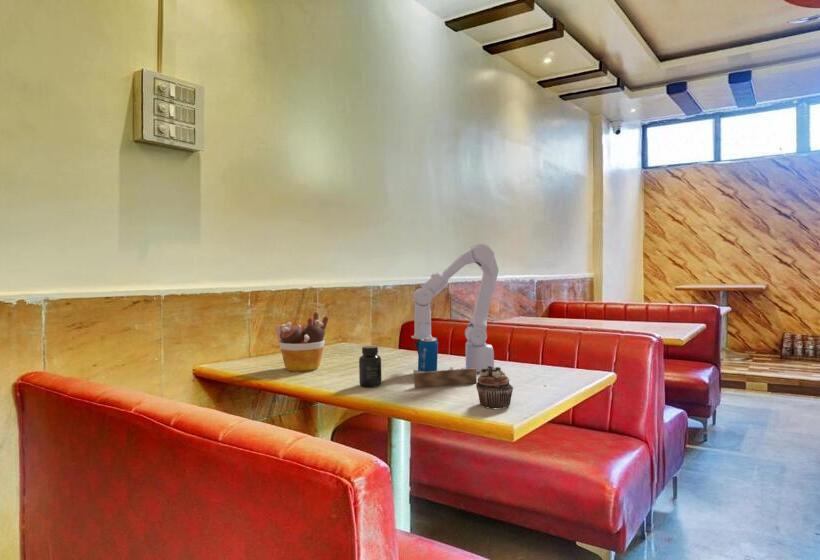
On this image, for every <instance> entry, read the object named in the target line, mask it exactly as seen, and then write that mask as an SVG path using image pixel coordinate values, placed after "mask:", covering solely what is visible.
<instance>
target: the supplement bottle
mask: <svg viewBox="0 0 820 560" xmlns="http://www.w3.org/2000/svg"><path fill="white" fill-rule="evenodd" d="M378 349H379V348H378V346H376V345H365V346H362V349H361V354H362V355H360V357H359V359H358V370H359V371H358V373H359V375H358V378H359V380H358V381H359V386H360V388H361V387H362V388H365V389H367V388H378V387H380V386H381V385H382V357H381V355H379V354H378V353H379V350H378Z"/></svg>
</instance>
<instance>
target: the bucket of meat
mask: <svg viewBox="0 0 820 560" xmlns="http://www.w3.org/2000/svg"><path fill="white" fill-rule="evenodd" d="M328 321H329V317H328V316H326V315H325V316H324V317H323V318H322V321H320V320H319V313H318V312H314V313H313V318H312V317H309V318H308V319H307V325H306V324H304V325H300V324H299V325H298V324H294V323H293V324H292V322H291V321H288V322H286V323H283V324H279V325H277V326H275V327H274V332H275V334H276V335H277V339H278V345H279V348H280V351H281V355H282V359H283V363H284V367H285V369H287V370H288V371H289V372H292V373H293V372H294V373H304V372H307V373H308V372H311V371H315V370H317V369H318V368H319V367H320V366H321V361H322V355H323V350H324V346H325V343H326V340H325V339H324V337H325V334H326V328H327V325H328Z"/></svg>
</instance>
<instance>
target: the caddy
mask: <svg viewBox="0 0 820 560" xmlns="http://www.w3.org/2000/svg"><path fill="white" fill-rule="evenodd" d="M412 373H413V374H412V375H413V376H412V377H413V380H414V381H413V384H414V386H413V388H415V389H423V388H431V387H446V386H458V385H470V384H477V382H478V378H477V372H476V368H469V369H462V368H458V369H454V367H453V366H450V367H449V368H448V369H446V370H445V369H444V370H437V371H429V372H425V371H419V370H418V369H413V372H412Z"/></svg>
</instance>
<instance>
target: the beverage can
mask: <svg viewBox="0 0 820 560" xmlns="http://www.w3.org/2000/svg"><path fill="white" fill-rule="evenodd" d="M425 337H430V336H425ZM438 350H439V341H438V338H437V337H434V336H432V340H431V341H425V339H423V338H422V337H421V338H420V341H419V352H417V355H418V356H417V357H418V358H417V359H418V361H417V370H419V371H425V372H429V371H438V357H439V356H438V354H439V353H438V352H439V351H438Z"/></svg>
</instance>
